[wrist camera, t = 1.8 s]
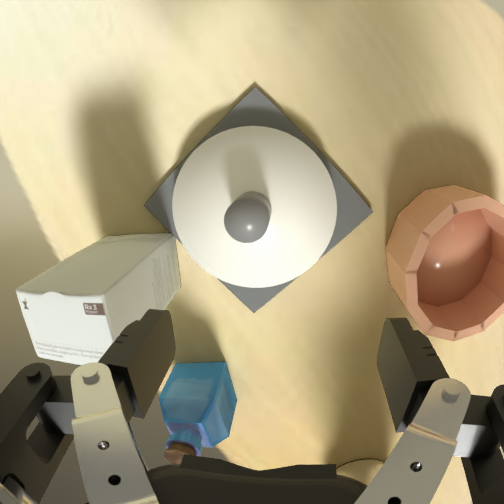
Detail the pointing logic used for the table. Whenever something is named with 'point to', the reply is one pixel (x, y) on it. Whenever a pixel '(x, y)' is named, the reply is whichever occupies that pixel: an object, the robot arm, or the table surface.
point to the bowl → (449, 261)
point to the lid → (254, 206)
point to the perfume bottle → (197, 408)
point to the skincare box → (98, 295)
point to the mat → (268, 115)
